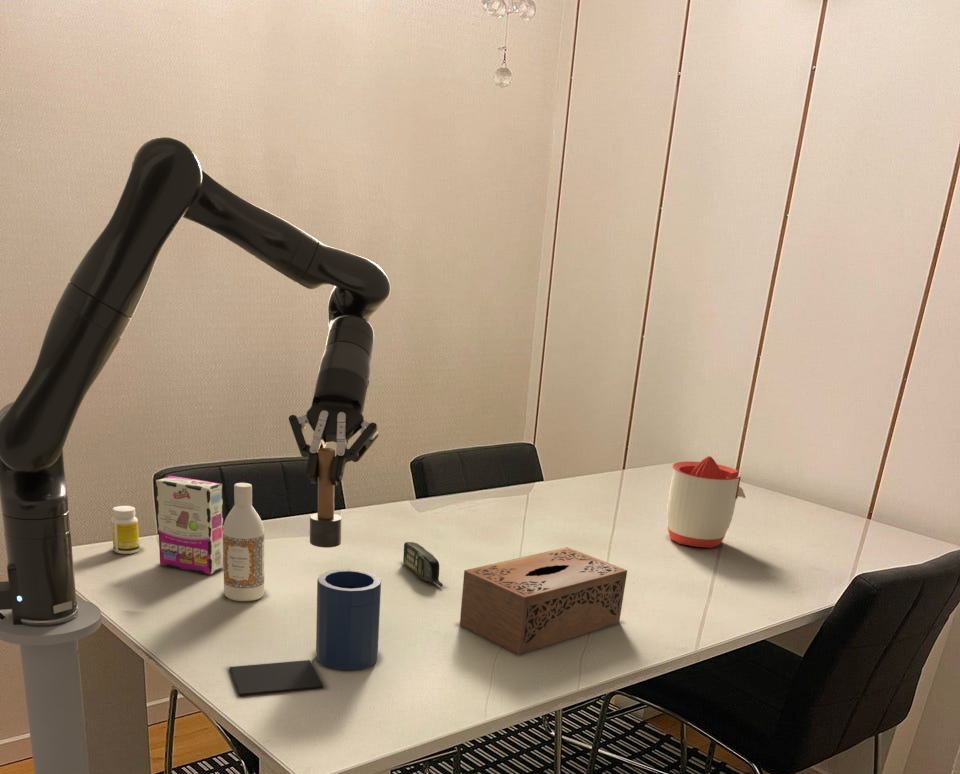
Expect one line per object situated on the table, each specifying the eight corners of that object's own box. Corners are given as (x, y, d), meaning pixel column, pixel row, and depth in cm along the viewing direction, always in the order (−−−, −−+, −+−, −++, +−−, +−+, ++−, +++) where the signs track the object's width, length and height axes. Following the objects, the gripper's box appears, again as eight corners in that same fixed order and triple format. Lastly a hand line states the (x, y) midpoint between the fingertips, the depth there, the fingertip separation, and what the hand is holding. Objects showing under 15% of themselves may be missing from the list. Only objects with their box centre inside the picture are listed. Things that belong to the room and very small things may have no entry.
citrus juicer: (738, 556, 217) (756, 469, 209) (661, 546, 219) (675, 459, 211) (733, 536, 232) (749, 454, 224) (660, 527, 234) (673, 445, 226)
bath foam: (218, 599, 168) (215, 487, 160) (231, 586, 175) (229, 477, 167) (257, 604, 168) (256, 492, 160) (269, 590, 174) (269, 481, 166)
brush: (313, 548, 142) (314, 453, 136) (306, 538, 145) (307, 446, 140) (344, 546, 143) (346, 453, 138) (336, 537, 147) (338, 445, 141)
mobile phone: (401, 540, 192) (433, 563, 180) (415, 539, 193) (447, 561, 181) (400, 564, 194) (431, 588, 182) (414, 563, 195) (446, 586, 183)
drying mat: (239, 696, 136) (239, 693, 136) (229, 669, 144) (229, 666, 144) (323, 688, 141) (323, 685, 141) (309, 662, 148) (309, 660, 148)
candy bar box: (225, 568, 183) (224, 483, 176) (211, 575, 179) (209, 489, 172) (173, 557, 186) (170, 473, 179) (158, 565, 181) (154, 479, 175)
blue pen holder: (324, 673, 145) (326, 592, 140) (310, 647, 153) (311, 570, 148) (384, 667, 149) (388, 588, 144) (367, 643, 157) (370, 567, 152)
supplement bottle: (144, 550, 188) (142, 508, 185) (125, 556, 184) (122, 513, 181) (127, 544, 190) (125, 503, 187) (108, 550, 186) (105, 508, 183)
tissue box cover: (518, 654, 158) (524, 597, 154) (459, 624, 167) (464, 570, 163) (619, 622, 174) (627, 570, 170) (560, 597, 184) (567, 547, 180)
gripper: (292, 361, 141) (270, 463, 135) (386, 370, 141) (368, 472, 135) (301, 392, 148) (280, 490, 142) (390, 400, 148) (373, 499, 142)
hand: (323, 481), depth 138 cm, fingers closed on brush, 2 cm apart
